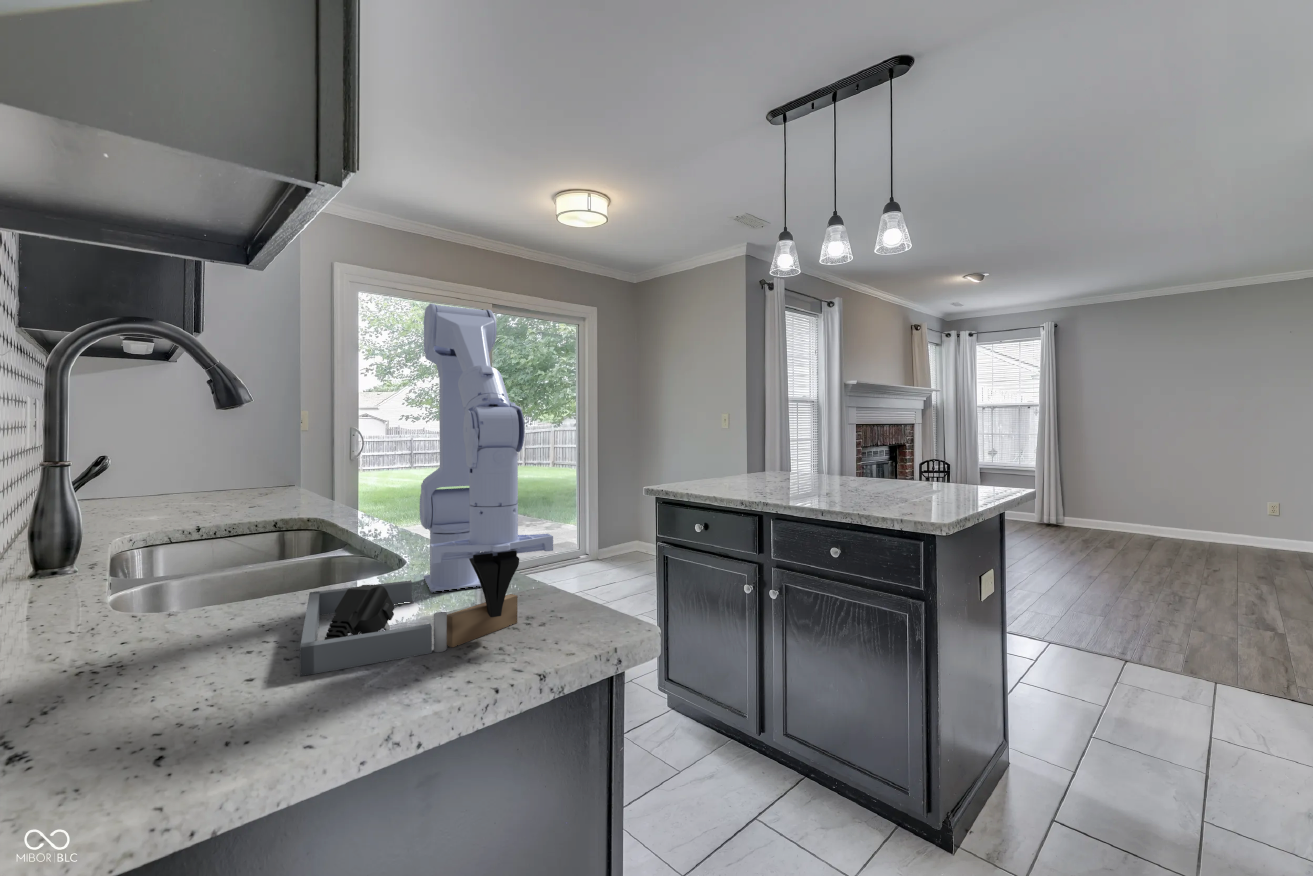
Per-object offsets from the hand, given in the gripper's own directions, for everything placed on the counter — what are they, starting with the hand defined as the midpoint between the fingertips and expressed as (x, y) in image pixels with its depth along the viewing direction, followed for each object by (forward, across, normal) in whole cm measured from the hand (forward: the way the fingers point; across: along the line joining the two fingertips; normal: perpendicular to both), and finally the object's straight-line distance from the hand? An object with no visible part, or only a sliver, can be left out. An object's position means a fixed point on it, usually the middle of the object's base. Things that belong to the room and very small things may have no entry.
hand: (494, 614), depth 70 cm
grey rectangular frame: (+2, -13, +9) cm, 16 cm away
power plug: (+3, -15, +5) cm, 16 cm away
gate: (+3, -1, +2) cm, 3 cm away
